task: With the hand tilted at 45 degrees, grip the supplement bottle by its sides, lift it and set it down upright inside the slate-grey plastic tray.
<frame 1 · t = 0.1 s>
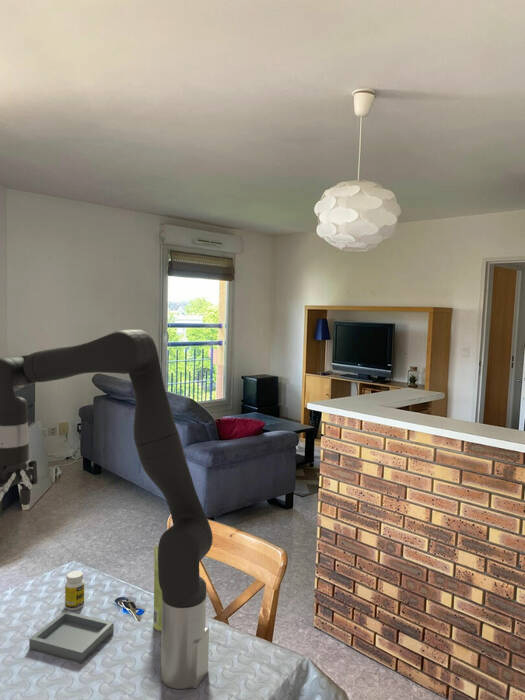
hand: (11, 510, 125), 29 cm above the table, tool pointing down, fingers open, 8 cm apart
tube: (164, 627, 130), on the table
supplement bottle: (74, 606, 138), on the table
tray: (72, 640, 123), on the table
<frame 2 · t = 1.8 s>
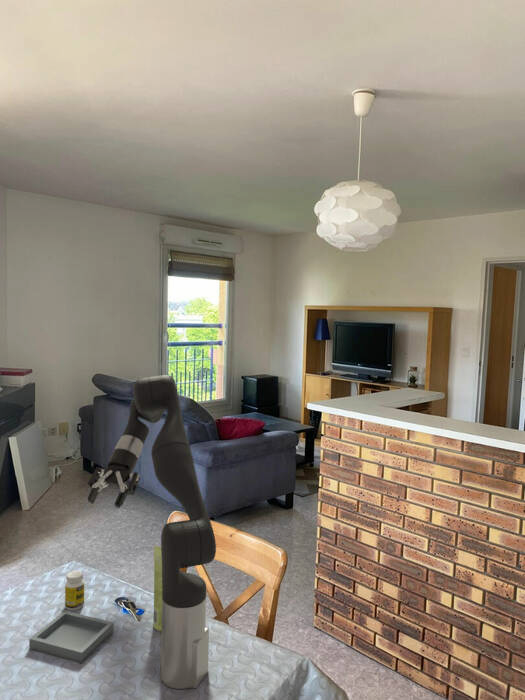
hand: (103, 504, 148), 22 cm above the table, tool tilted 45°, fingers open, 8 cm apart
nothing on the table moved.
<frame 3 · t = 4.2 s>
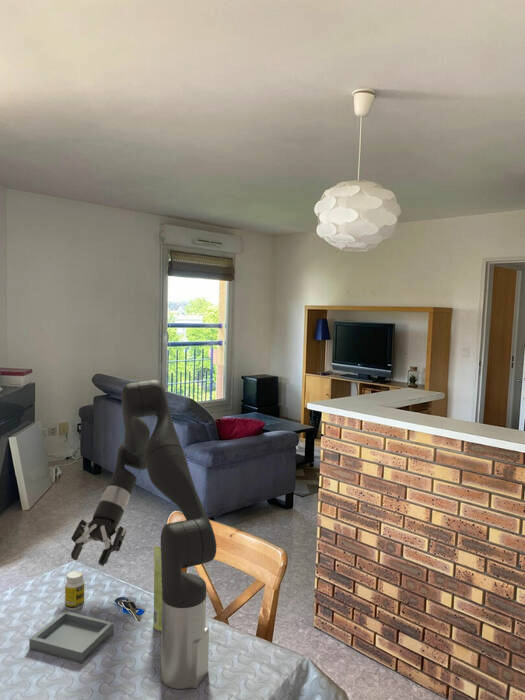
hand: (87, 561, 142), 9 cm above the table, tool tilted 45°, fingers open, 8 cm apart
nothing on the table moved.
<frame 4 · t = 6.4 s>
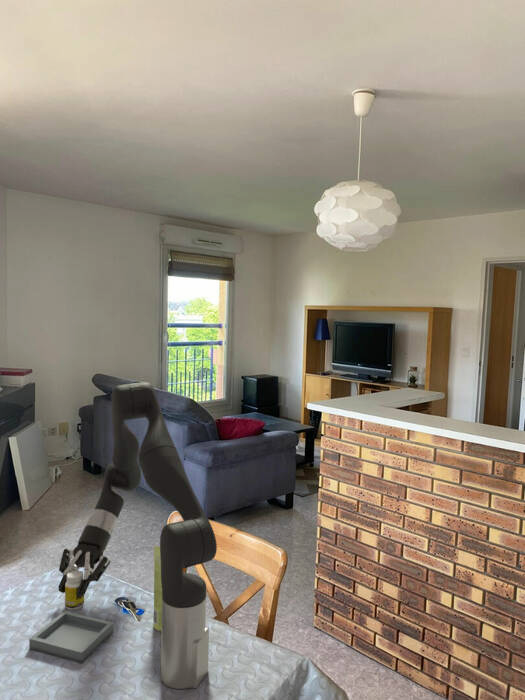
hand: (70, 593, 136), 4 cm above the table, tool tilted 45°, fingers closed on supplement bottle, 4 cm apart
supplement bottle: (74, 606, 138), on the table, touching gripper
everything else where it was.
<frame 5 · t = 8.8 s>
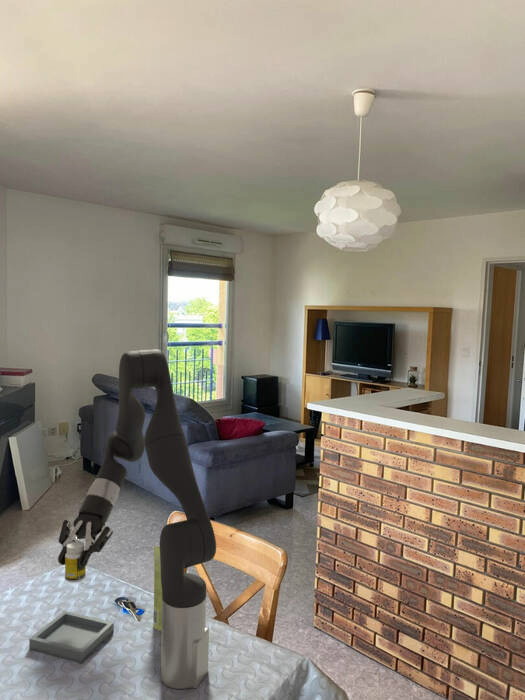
hand: (70, 565, 128), 15 cm above the table, tool tilted 45°, fingers closed on supplement bottle, 4 cm apart
supplement bottle: (75, 579, 130), point 11 cm above the table, touching gripper
everything else where it was.
when the fingers open (6 cm above the table, at t = 11.5 s): supplement bottle drops 2 cm, resting on tray.
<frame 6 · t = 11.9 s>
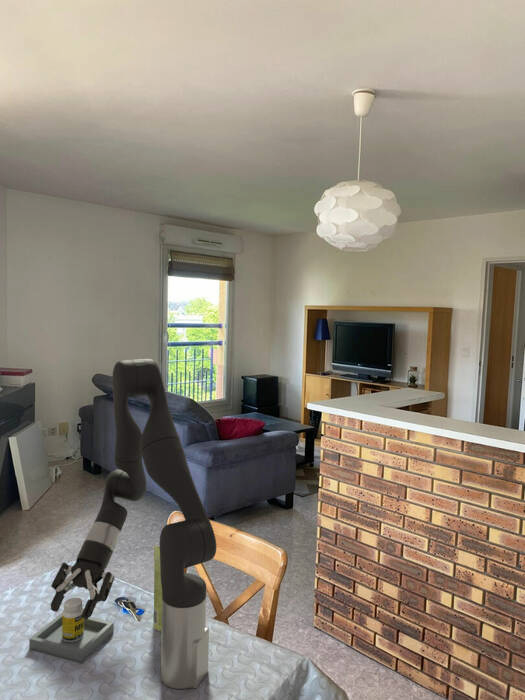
hand: (68, 614, 121), 7 cm above the table, tool tilted 45°, fingers open, 8 cm apart
supplement bottle: (73, 637, 123), point 1 cm above the table, touching tray
everything else where it was.
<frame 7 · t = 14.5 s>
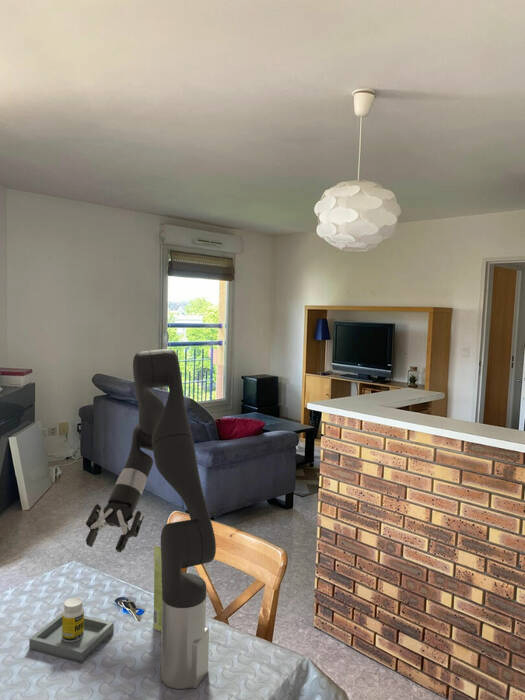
hand: (103, 548, 133), 17 cm above the table, tool tilted 45°, fingers open, 8 cm apart
nothing on the table moved.
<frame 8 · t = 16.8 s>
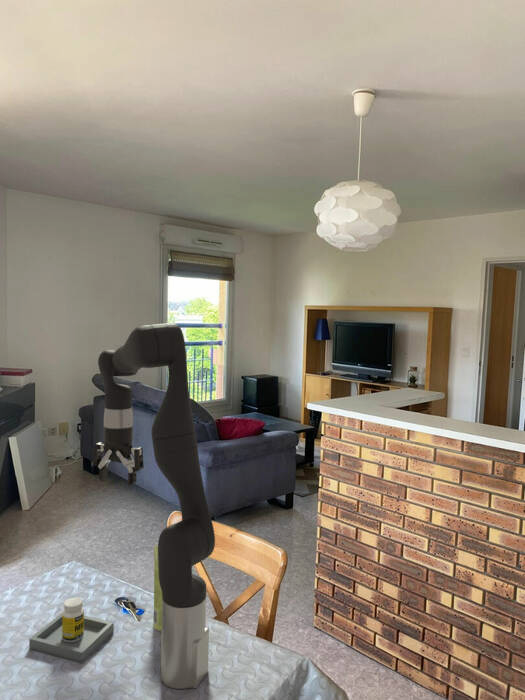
hand: (117, 483, 143), 30 cm above the table, tool pointing down, fingers open, 8 cm apart
nothing on the table moved.
at the end: supplement bottle inside the target area on the tray (0.2 cm from its centre), point 0.6 cm above the tray's base; supplement bottle tilted 0°; the gripper is holding nothing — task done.
